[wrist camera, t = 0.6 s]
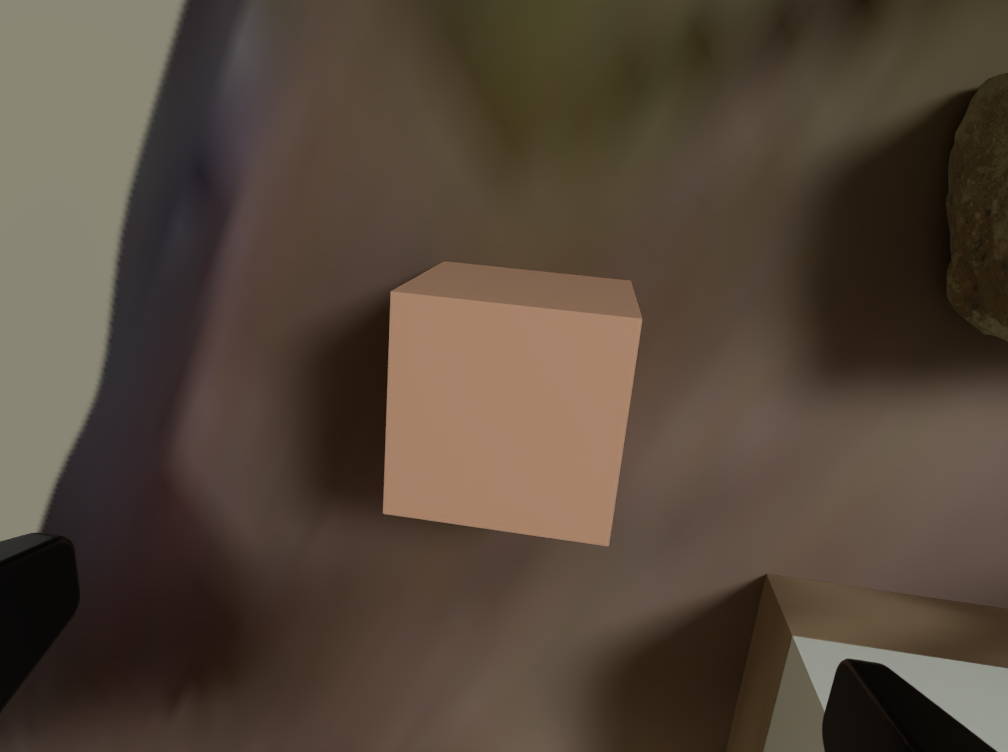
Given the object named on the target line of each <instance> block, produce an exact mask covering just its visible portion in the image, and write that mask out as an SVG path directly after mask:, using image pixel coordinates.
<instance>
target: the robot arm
mask: <svg viewBox="0 0 1008 752" xmlns="http://www.w3.org/2000/svg"><path fill="white" fill-rule="evenodd" d="M79 600H80V589H79V581H78V572H77V564H76V556H75V549H74V545H73V544H72V542H71V541H70V540H69V539H68V538H66V537H63V536H57V535H51V534H44V533H31V534H26V535H23V536H19V537H15V538H12V539H8V540H4V541H1V542H0V712H1V711H2V710H3V708H4V707H5V706H6V704H7V703H8V702H9V701H10V699H11V698H12V697H13V695H14V694H15V693H16V691H17V690H18V689H19V687H20V686H21V685H22V683H23V682H24V681H25V679H26V678H27V677H28V675H29V674H30V673H31V672H32V670H33V669H34V668H35V666H36V665H37V664H38V662H39V661H40V660H41V658H42V657H43V656H44V654H45V653H46V652H47V650H48V649H49V648H50V647H51V645H52V644H53V643H54V641H55V640H56V639H57V637H58V636H59V635H60V633H61V632H62V631H63V629H64V628H65V627H66V625H67V624H68V623H69V622H70V620H71V619H72V617H73V616H74V614H75V612H76V610H77V608H78V605H79ZM822 739H823V745H824V750H825V752H997V751H996V750H995V749H994V748H992V747H991V746H990V745H988V744H987V743H986V742H984V741H983V740H982V739H981V738H979V737H978V736H977V735H975V734H974V733H973V732H971V731H970V730H969V729H968V728H966V727H965V726H964V725H962V724H961V723H960V722H959V721H957V720H956V719H955V718H953V717H952V716H951V715H949V714H948V713H947V712H946V711H944V710H943V709H942V708H940V707H939V706H938V705H936V704H935V703H934V702H933V701H931V700H930V699H929V698H927V697H926V696H925V695H923V694H922V693H921V692H920V691H918V690H917V689H916V688H914V687H913V686H912V685H911V684H909V683H908V682H907V681H905V680H904V679H903V678H901V677H900V676H899V675H898V674H896V673H895V672H894V671H892V670H891V669H890V668H888V667H887V666H885V665H883V664H881V663H876V662H869V661H863V660H856V659H849V658H848V659H845V660H843V661H841V662H840V664H839V665H838V667H837V669H836V672H835V676H834V680H833V683H832V687H831V691H830V694H829V698H828V702H827V705H826V709H825V713H824V716H823V722H822Z"/></svg>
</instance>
